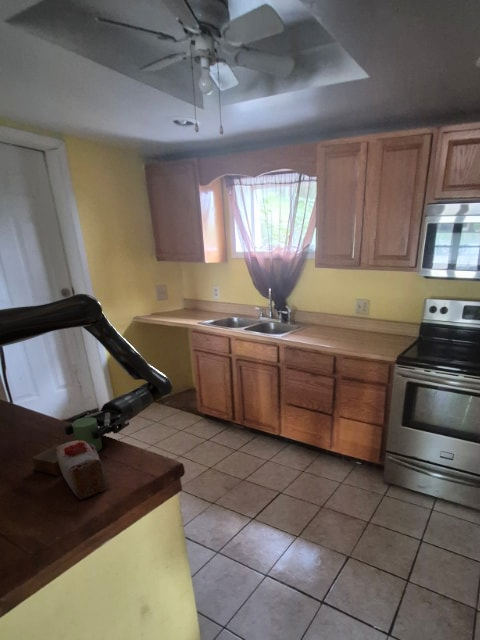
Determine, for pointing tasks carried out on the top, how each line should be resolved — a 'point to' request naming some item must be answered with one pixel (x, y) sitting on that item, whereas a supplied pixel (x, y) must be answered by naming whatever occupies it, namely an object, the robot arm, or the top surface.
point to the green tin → (86, 431)
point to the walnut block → (48, 461)
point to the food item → (81, 468)
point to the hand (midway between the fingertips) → (79, 433)
